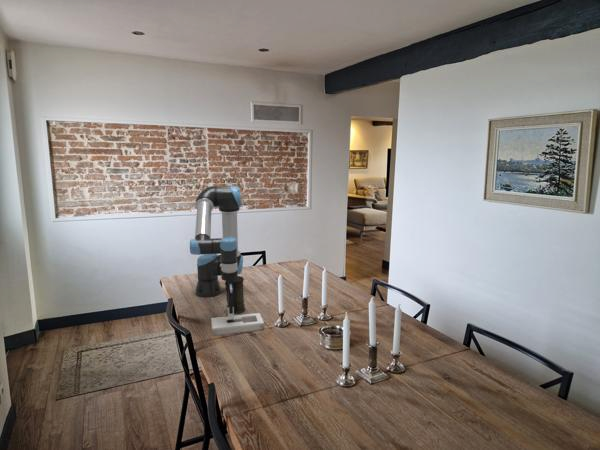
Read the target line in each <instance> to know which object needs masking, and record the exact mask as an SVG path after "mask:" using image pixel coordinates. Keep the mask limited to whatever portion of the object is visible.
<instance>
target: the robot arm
mask: <svg viewBox="0 0 600 450" xmlns="http://www.w3.org/2000/svg"><path fill="white" fill-rule="evenodd" d="M194 206H195V209H196V218H195V219H196V220H195V231H194V232H195V234H194V238H191V239H190V241H189V252H190V254H191V255H193V256H194V255H195V256H198V255H199V256H198V257H197V260H196V266H197V268H196V269H197V283H196V287H195V292H194V293H195V295H196V296H197V297H203V298H211V297H215V296H218V295H220V294H222V286H221V284H220V281H219V276H221V280H222V281H224V283H225V284H224V285H225V292H226V303H227V304H226V308H227V316H228V320H231V319H234V316H235V314H234V280H236V279H237V278H238V276H239V275H241V274H242V271H243V264H244V256H243V255H242V254H241V251H240V250H239V244H238V243H239V241H238V240H239V238H238V236H239V234H238V212H239V211H240V209H241V207H242V206H243V202H242V195H241V190H240V187H239V186H238V185H237V186H236V185H219V186H218V185H212V186H211V185H210V186H208V187H206V188H204V189H203V190H202V191H201V192H199V194H198V195H197V197H196V199H195V205H194ZM214 208H218V211H219V212H220V213H221V224H222V225H221V226H222V237H221V238H219V237H218V238H216V237H215V238H212V237H211V235H212V234H211V230H212V210H213V209H214Z"/></svg>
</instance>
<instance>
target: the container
mask: <svg viewBox="0 0 600 450" xmlns="http://www.w3.org/2000/svg"><path fill="white" fill-rule="evenodd" d="M244 279H245V278H244V277H243V276H240V275H238V278H237V279H236V280H234V315H239V314H243V313H245V310H246V307H245V299H244V294H245V293H244Z"/></svg>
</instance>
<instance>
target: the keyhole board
mask: <svg viewBox="0 0 600 450" xmlns="http://www.w3.org/2000/svg"><path fill="white" fill-rule="evenodd" d="M233 321H235V322H233V323H227V322H228V315H227V316H220V317H219V316H217V317H211V318H210V323H211V324H210V326H211V332H212V336H221V335H229V334H230V335H231V334H237V333H238V334H239V333H244V332H246V333H247V332H254V331H261V330H263V331H264V329H265V322H264V320H263V318H262V315H261V313H260V312H253V313H246V314H245V313H244V314H234V319H233Z"/></svg>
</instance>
